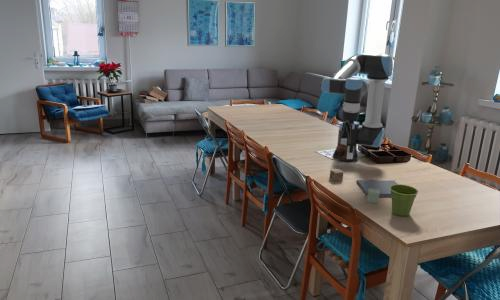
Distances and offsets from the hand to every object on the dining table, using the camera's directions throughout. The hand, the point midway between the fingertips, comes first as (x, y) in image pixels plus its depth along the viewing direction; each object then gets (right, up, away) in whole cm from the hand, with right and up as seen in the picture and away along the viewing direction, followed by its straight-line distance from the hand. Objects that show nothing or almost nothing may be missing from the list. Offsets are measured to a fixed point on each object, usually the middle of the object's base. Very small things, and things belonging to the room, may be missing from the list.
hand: (346, 154), depth 197 cm
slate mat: (+19, -18, +7) cm, 27 cm away
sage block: (+11, -22, -7) cm, 25 cm away
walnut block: (-1, -14, +19) cm, 23 cm away
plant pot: (+19, -26, -19) cm, 37 cm away
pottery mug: (-1, -2, +1) cm, 3 cm away
